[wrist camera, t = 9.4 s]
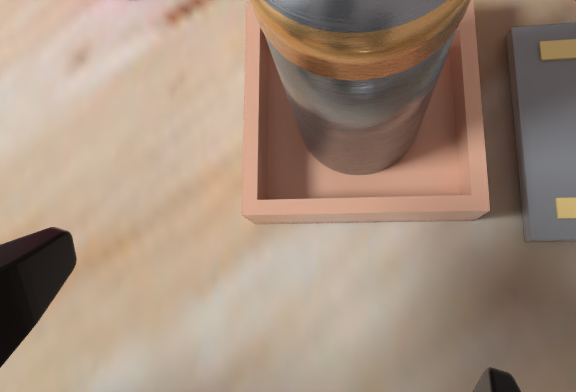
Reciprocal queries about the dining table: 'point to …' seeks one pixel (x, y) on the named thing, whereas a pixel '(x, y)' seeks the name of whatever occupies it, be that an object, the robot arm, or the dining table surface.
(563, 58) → the grey base plate
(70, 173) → the dining table surface
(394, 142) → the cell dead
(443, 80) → the pink open tray
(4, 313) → the robot arm
